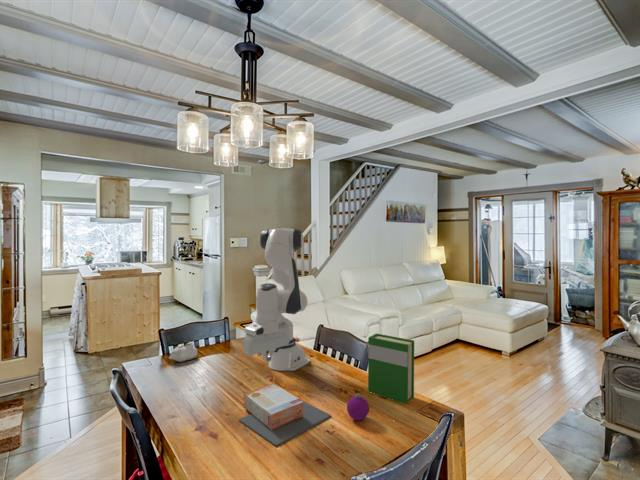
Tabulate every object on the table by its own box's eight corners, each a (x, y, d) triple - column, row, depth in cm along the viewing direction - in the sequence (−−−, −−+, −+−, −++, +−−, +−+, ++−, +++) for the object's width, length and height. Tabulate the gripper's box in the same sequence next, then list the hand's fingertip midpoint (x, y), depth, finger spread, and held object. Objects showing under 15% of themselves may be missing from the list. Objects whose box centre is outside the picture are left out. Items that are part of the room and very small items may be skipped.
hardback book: (413, 397, 145) (414, 340, 144) (407, 404, 139) (407, 345, 138) (375, 386, 155) (376, 333, 155) (368, 392, 149) (368, 337, 149)
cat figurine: (197, 339, 193) (171, 342, 182) (202, 349, 188) (176, 353, 177) (191, 352, 196) (165, 355, 185) (196, 362, 191) (170, 367, 180)
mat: (292, 397, 144) (292, 395, 144) (331, 416, 129) (331, 415, 129) (238, 420, 126) (238, 419, 126) (276, 447, 111) (276, 445, 111)
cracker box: (243, 408, 135) (271, 431, 118) (243, 392, 134) (271, 413, 118) (274, 397, 143) (304, 417, 127) (274, 382, 143) (303, 401, 127)
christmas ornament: (346, 412, 132) (346, 387, 132) (367, 413, 132) (367, 387, 131) (347, 424, 124) (347, 397, 124) (370, 425, 123) (370, 397, 123)
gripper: (282, 319, 144) (282, 352, 145) (240, 329, 130) (240, 365, 130) (292, 322, 140) (292, 356, 140) (250, 332, 125) (250, 370, 126)
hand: (267, 361), depth 135 cm, fingers closed
